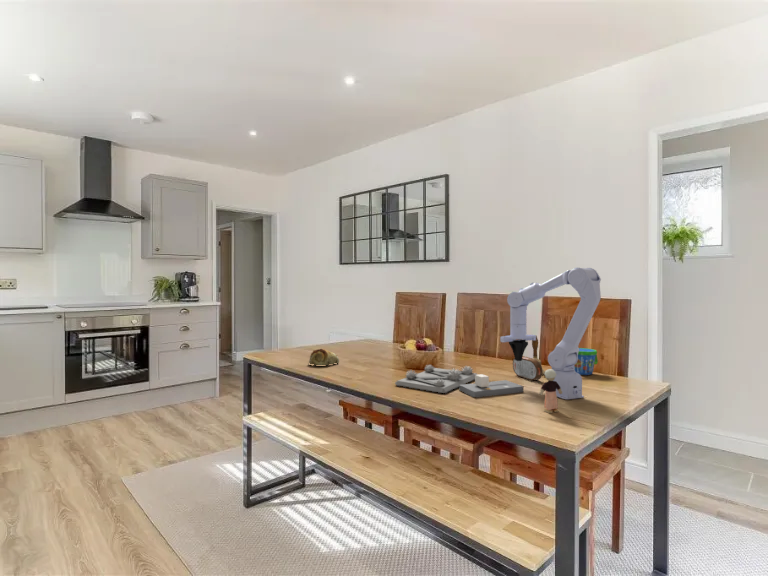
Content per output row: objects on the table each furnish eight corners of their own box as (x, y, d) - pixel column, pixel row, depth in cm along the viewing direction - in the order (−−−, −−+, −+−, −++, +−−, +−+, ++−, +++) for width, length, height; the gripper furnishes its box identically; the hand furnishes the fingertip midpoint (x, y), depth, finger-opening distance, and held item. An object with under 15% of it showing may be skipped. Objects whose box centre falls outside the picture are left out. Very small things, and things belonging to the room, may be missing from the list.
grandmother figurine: (553, 407, 131) (553, 366, 130) (564, 411, 127) (564, 369, 127) (535, 411, 127) (535, 369, 127) (546, 415, 124) (546, 371, 123)
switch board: (523, 391, 149) (523, 386, 149) (474, 397, 142) (474, 391, 142) (506, 385, 159) (506, 380, 159) (459, 390, 152) (459, 384, 152)
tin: (543, 382, 164) (543, 360, 164) (536, 382, 163) (536, 360, 163) (517, 374, 178) (517, 354, 178) (511, 374, 177) (511, 354, 177)
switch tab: (488, 386, 148) (488, 376, 148) (481, 387, 147) (481, 377, 147) (482, 383, 152) (482, 374, 151) (474, 384, 150) (474, 374, 150)
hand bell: (547, 375, 176) (547, 336, 175) (526, 374, 177) (526, 336, 177) (543, 370, 184) (543, 334, 184) (523, 370, 185) (523, 333, 185)
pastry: (306, 367, 194) (306, 350, 194) (311, 362, 206) (311, 346, 206) (337, 367, 194) (337, 350, 194) (340, 362, 206) (340, 345, 206)
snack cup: (587, 369, 185) (587, 346, 185) (607, 374, 175) (607, 350, 175) (558, 372, 180) (558, 348, 180) (577, 377, 170) (577, 352, 170)
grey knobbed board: (433, 373, 183) (433, 356, 183) (480, 379, 170) (480, 362, 170) (393, 387, 159) (393, 368, 159) (444, 396, 146) (444, 375, 146)
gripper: (527, 322, 164) (527, 357, 164) (495, 323, 159) (495, 360, 159) (539, 324, 157) (539, 360, 158) (507, 325, 152) (507, 363, 153)
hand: (518, 360), depth 158 cm, fingers closed
